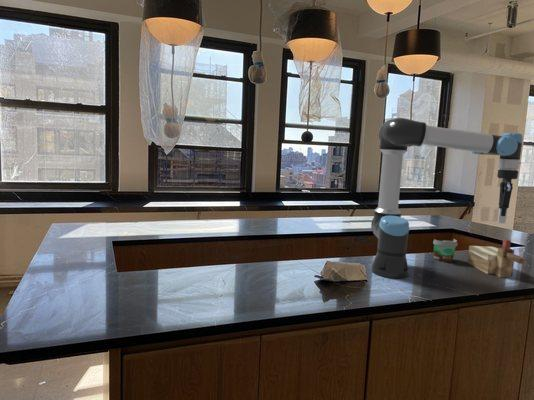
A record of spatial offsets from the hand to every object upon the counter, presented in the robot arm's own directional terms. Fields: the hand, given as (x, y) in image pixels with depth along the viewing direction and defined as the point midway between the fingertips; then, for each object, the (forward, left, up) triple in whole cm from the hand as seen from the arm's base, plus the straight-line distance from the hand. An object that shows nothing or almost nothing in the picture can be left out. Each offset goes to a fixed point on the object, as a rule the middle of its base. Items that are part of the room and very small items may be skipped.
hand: (501, 222), depth 171 cm
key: (0, -11, -13) cm, 17 cm away
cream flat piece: (0, +4, -17) cm, 17 cm away
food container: (-15, +14, -22) cm, 30 cm away
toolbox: (0, +2, -22) cm, 22 cm away
